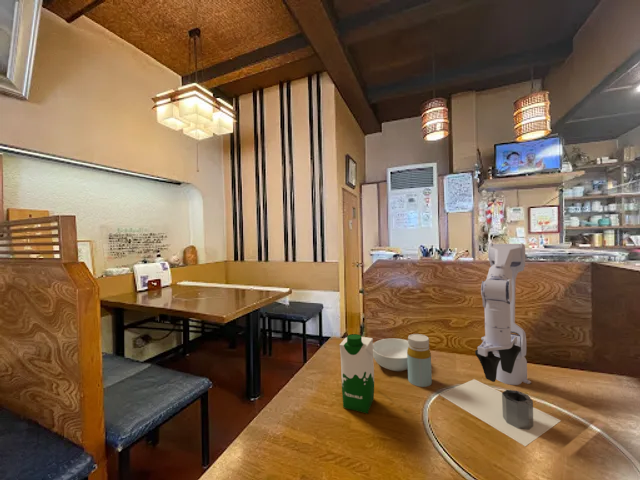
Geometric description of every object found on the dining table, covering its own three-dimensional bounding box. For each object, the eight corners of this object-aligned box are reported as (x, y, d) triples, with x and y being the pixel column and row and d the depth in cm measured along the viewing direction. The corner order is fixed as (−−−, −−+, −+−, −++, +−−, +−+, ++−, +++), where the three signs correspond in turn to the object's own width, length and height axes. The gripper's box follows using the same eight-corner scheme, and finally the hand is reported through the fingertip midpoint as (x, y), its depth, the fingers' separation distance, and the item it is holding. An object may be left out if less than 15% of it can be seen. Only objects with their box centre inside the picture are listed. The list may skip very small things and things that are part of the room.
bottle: (434, 391, 81) (432, 342, 81) (409, 389, 83) (408, 341, 82) (429, 379, 88) (427, 333, 88) (407, 378, 90) (405, 333, 89)
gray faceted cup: (510, 410, 70) (509, 387, 70) (536, 423, 65) (535, 398, 65) (499, 419, 67) (498, 395, 67) (525, 432, 62) (525, 406, 62)
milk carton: (339, 409, 75) (336, 337, 75) (349, 391, 83) (347, 327, 83) (370, 416, 71) (367, 341, 71) (377, 397, 79) (375, 330, 79)
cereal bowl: (371, 355, 107) (370, 337, 107) (414, 356, 105) (414, 338, 105) (373, 377, 91) (373, 356, 91) (425, 379, 88) (424, 358, 88)
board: (474, 382, 85) (473, 379, 85) (561, 425, 65) (561, 420, 65) (439, 398, 78) (439, 394, 78) (525, 451, 58) (525, 446, 58)
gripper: (497, 316, 78) (498, 362, 79) (465, 326, 72) (467, 376, 72) (525, 322, 72) (526, 373, 72) (493, 334, 65) (495, 389, 66)
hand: (498, 375), depth 72 cm, fingers open, 7 cm apart
